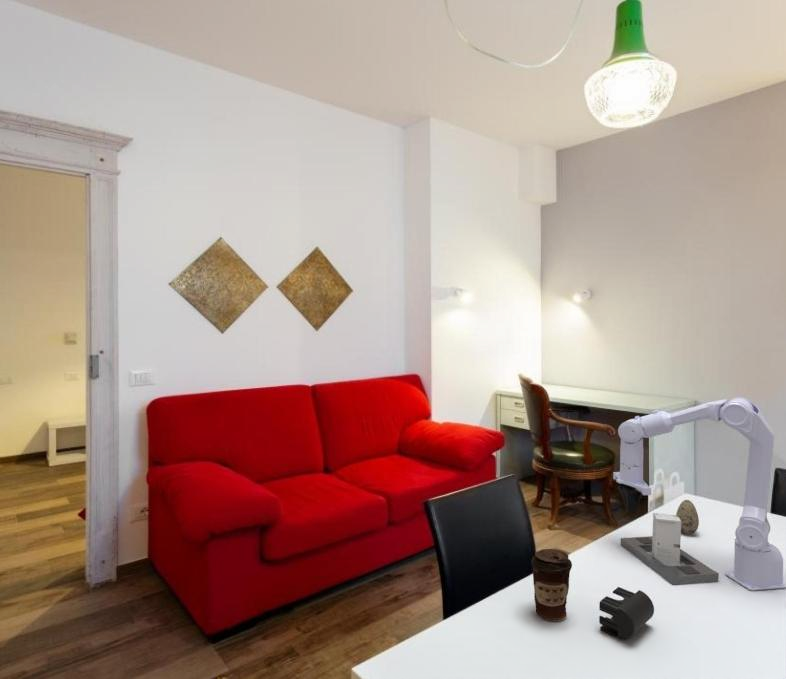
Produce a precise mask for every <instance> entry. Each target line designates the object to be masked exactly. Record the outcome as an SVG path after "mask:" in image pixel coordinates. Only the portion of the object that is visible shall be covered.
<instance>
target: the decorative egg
mask: <svg viewBox="0 0 786 679" xmlns="http://www.w3.org/2000/svg"><path fill="white" fill-rule="evenodd" d="M675 515H676V516H678V517H679V519H680V520H681V533H683V534H686V535H691V534H695V533H696V531H698V529H699V526H700V520H699V518H700V517H699V514H698V512H697V509H696V506H695V504H694V503H693V502H692V501H691V500H689V499H684V500H683V501H682V502H681V503H680V504H679V505H678V508H677V510H676V514H675Z"/></svg>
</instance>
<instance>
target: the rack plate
mask: <svg viewBox="0 0 786 679" xmlns="http://www.w3.org/2000/svg"><path fill="white" fill-rule="evenodd" d="M620 546H621V547H622V548H624V549H625V550H626V551H628V552H629V553H630V554H631V555H633V556H634V557H635V558H636V559H637V560H639V561H640V562H642V563H644V564H645V566H647V567H648V568H649V569H651V570H652V571H654V572H655V574H657V575H658V576H661V577H662V578H663V579H664V580H665V581H666V582H668V583H669V584H670V585H672V586H678V585H679V586H680V585H695V584H705V583H708V584H709V583H719V577H720V576H719V574H720V573H718V572H717V571H716V570H713V568H711V567H709V566H708V565H706V564H705V563H703V562H702V561H700V560H699V559H697V558H696V557H693V556H692V555H691V554H689V553H687V552H686V551H684V550H683V549H681V548H680V563H682V564H683V565H682V564H681V565H680V566H667V565H664V564H663V563H661V562H660V561H659V560H657V559H656V558H655V557H653V556H652V554H650V553H652V535H651V536H636V537H620Z"/></svg>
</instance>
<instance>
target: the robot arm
mask: <svg viewBox="0 0 786 679" xmlns="http://www.w3.org/2000/svg"><path fill="white" fill-rule="evenodd" d="M701 420H709V421H712V422H716V423H719V422H720V421H722V422H723V423H724V424H725V425H727V426H728V427H730V428H732V429H734V430H736V431H737V432H739V433H740V434H742V435H743V437H745V438H746V439H747V440H748V441H749V448H748V459H747V460H748V461H747V470H746V471H747V472H746V477H745V478H746V479H745V480H746V481H745V491H744V500H743V508H742V514H741V516H740V517H739V520H738V526H736V528H735V532H734V533H735V535H734V536H735V538H734V555H733V556H734V558H733V560H734V561H733V571H726V572H724V575H726V576H727V577H729V578H730V579H732V580H733V581H735V582H736V583H738V584H740V585H741V586H743V587H744V588H745V589H748V590H749V591H759V590H761V591H764V590H774V589H786V585H785V584H784V581H783V580H784V557H783V554H782V552H781V551H780V549H779V548H778V547H777V546H775V545H774V544H773V543H770V542H769V534H770V533H771V525H770V521H769V520H768V517H767V514H768V501H769V492H770V490H769V489H770V481H771V472H772V462H773V453H774V452H773V451H774V442H775V433H774V431H773V429H772V428H771V426H770V425H769V423H768V422H767V421H766V418H765V417H764V416H763V414H762V412H761V410H760V408H759V407H758V406H757V405H756V404H754V403H753V402H752V401H751V400H749V399H747V398H746V397H741V396H740V397H739V396H735V397H733V398H730V399H729V400H728V399H727V398H726V399H719V400H715V401H709V402H706V403H702V404H699V405H695V406H692V407H689V408H686V409H683V410H679V411H676V412H673V413H669V412H667V411H664V410H660V411H659V410H658V409H655V410H652V413H651V414H647V415H643V416H640V415H635V416H634V418H630V419H628V420H626V421H624V422H622V423H621V424H620V425H619V426H618V429H617V430H618V431H617V434H618V436H619V438H620V447H619V448H620V449H619V450H620V451H619V455H620V456H619V457H620V458H619V463H620V464H619V466H620V467H619V471H613V475H612V476H613V480H616V483H618V484H620V485H617V489H618V492H619V493H620V495H621V497H622V500H623V504H624V509H625V512H626V513H627V514H629V515H631V514H633V515H634V514H636V513H637V510H638V506H639V504H640V501H641V499H642V498H643V496H651V495H652V487H650V486H649V485H648V484H647V483H646V482H645V480H644V438H646V439H649V438H652V437H653V438H654V437H657V436H660V435H663V434H668V433H672V432H673V430H674V428H675V426H679V425H684V424H687V423H692V422H697V421H701Z"/></svg>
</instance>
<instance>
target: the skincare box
mask: <svg viewBox="0 0 786 679" xmlns="http://www.w3.org/2000/svg"><path fill="white" fill-rule="evenodd" d="M652 517H653V518H652V535H651V536H652V552H651V555H652V556H653V557H655V558H656V559H657V560H659V561H660V562H661V563H663V564H664V565H666V566H680V564H681V562H680V549H681V538H682V536H681V535H682V532H681V520H680V519H679V517H678V516H676V514H668V513H661V512H660V513H658V512H653V513H652Z"/></svg>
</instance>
